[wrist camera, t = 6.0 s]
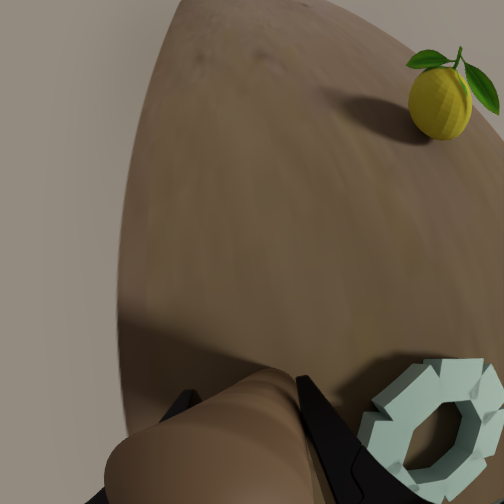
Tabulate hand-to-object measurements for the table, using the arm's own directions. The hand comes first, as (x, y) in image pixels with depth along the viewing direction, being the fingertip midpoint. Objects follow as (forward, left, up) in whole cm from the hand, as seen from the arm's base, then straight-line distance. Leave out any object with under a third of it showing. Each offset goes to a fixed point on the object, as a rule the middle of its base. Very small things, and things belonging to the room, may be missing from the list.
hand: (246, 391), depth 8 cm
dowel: (-1, 0, -7) cm, 7 cm away
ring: (-3, -11, -7) cm, 14 cm away
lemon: (+21, -11, -7) cm, 25 cm away
